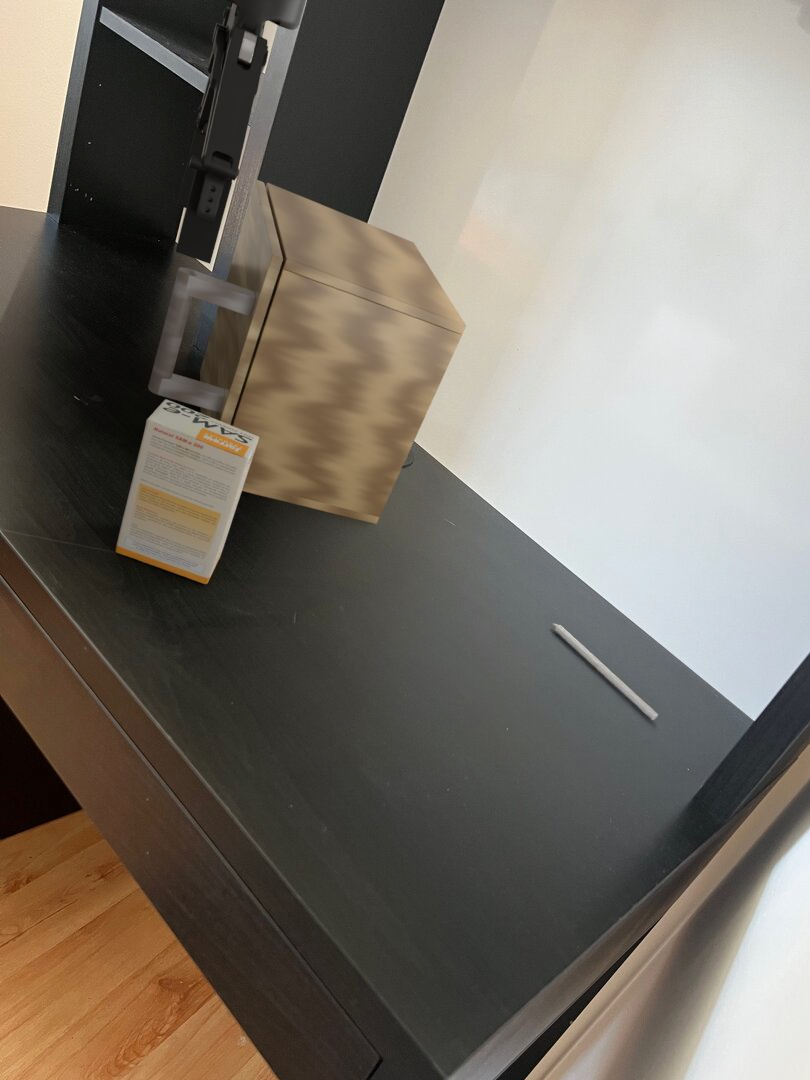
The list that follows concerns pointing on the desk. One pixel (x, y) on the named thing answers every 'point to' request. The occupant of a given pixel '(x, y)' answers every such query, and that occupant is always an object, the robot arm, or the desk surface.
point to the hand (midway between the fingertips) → (192, 231)
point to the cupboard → (342, 361)
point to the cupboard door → (223, 317)
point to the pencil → (606, 672)
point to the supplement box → (184, 491)
